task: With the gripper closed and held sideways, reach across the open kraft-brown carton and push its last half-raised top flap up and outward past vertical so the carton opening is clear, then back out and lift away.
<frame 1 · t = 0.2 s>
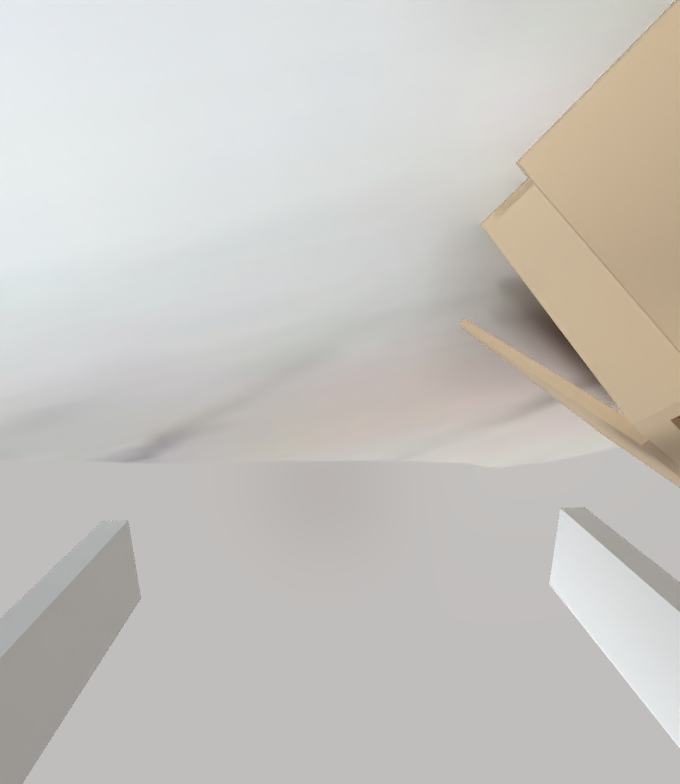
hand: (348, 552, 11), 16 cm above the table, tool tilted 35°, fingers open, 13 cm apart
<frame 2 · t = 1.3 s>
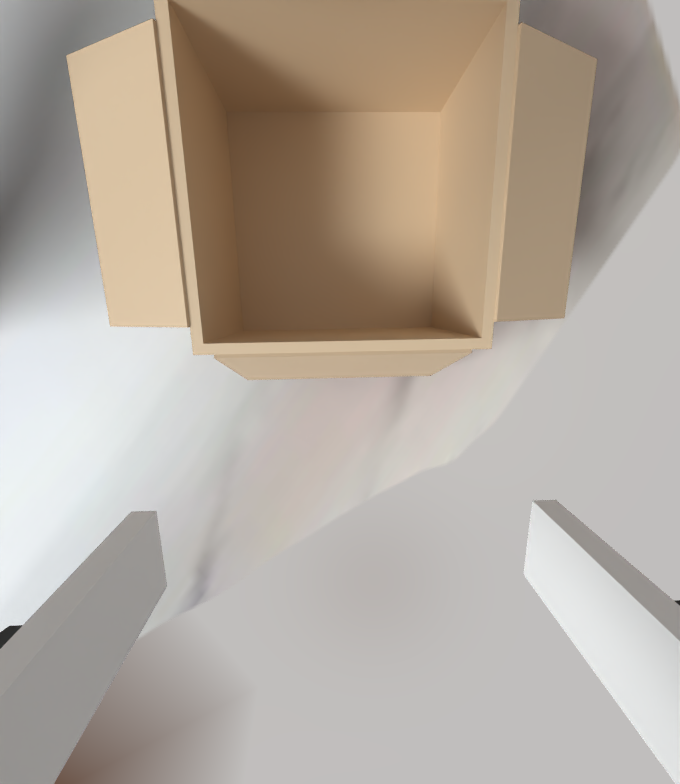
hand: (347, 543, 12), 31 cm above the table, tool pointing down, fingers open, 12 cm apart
carton: (336, 229, 38), on the table
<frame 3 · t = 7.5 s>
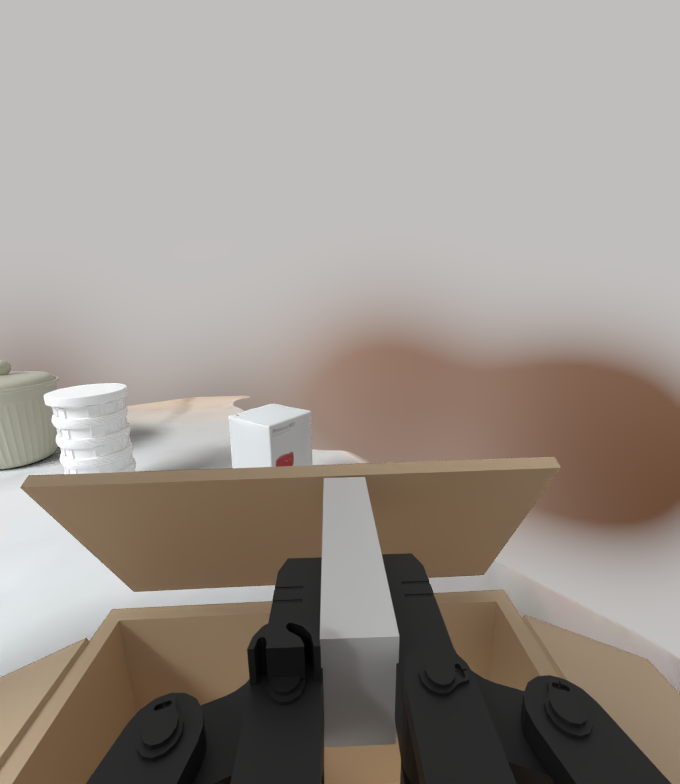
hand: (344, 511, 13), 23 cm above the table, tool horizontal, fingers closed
decorative container: (105, 494, 62), on the table
supplement box: (275, 504, 58), on the table
carton flap: (306, 536, 17), point 20 cm above the table, hinge at -30.2°, touching gripper
canister: (21, 460, 77), on the table
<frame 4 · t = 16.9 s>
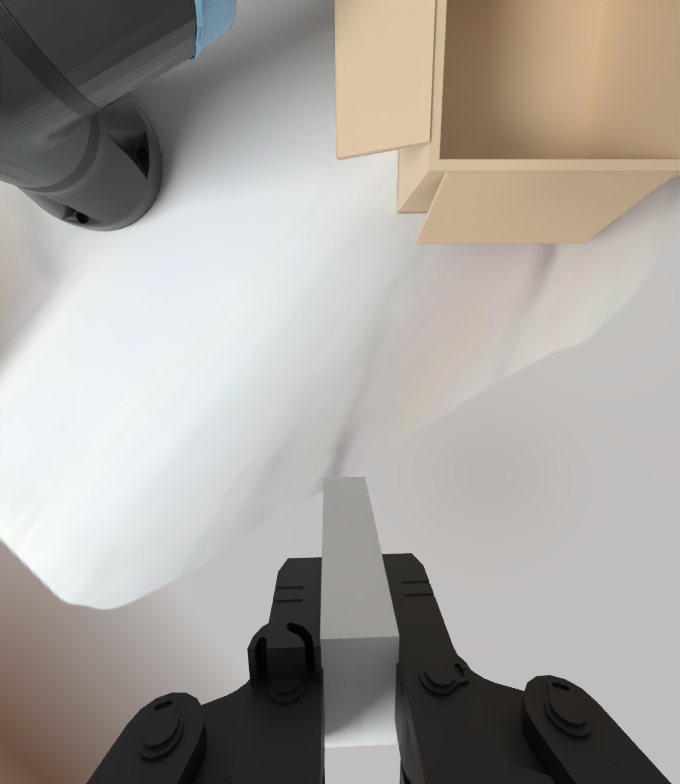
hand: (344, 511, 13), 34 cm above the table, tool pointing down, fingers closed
carton: (497, 105, 41), on the table
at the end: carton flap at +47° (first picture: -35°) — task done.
